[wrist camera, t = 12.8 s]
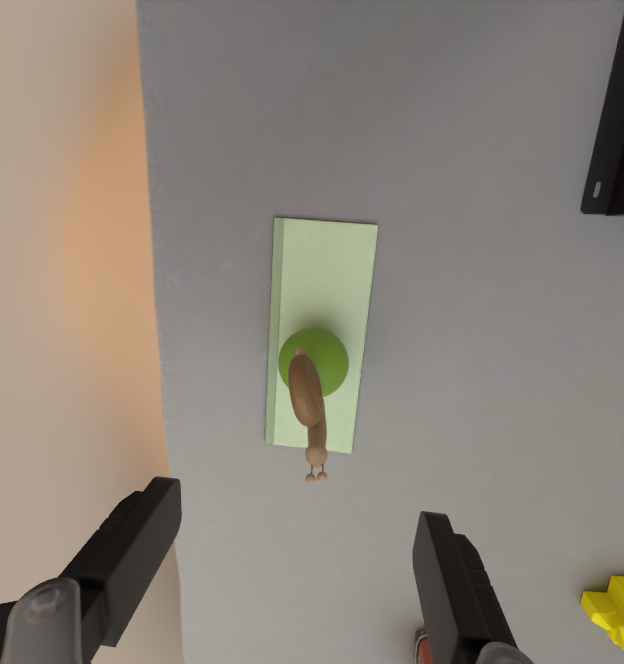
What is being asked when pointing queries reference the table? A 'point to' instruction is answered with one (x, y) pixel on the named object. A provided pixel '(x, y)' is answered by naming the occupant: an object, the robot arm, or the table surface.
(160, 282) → the table surface
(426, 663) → the lighter
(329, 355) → the snail figurine
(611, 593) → the crumpled paper
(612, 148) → the wireless controller
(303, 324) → the front mat
